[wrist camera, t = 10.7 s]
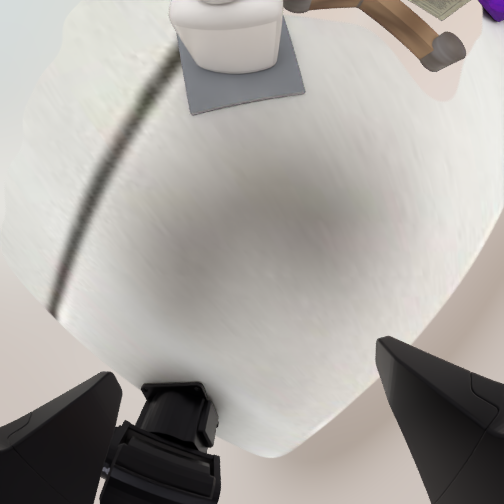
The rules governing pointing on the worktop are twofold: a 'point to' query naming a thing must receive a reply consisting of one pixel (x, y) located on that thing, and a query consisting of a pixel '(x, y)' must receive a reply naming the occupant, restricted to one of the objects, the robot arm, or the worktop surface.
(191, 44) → the eye dropper bottle
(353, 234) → the worktop surface
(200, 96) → the coaster
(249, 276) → the worktop surface
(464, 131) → the worktop surface
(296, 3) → the rail
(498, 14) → the purple faceted pebble
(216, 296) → the worktop surface
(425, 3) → the skincare box
